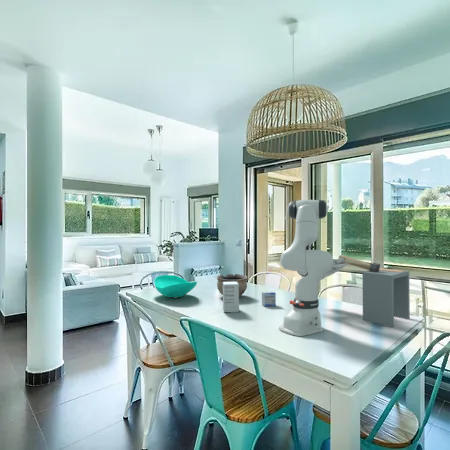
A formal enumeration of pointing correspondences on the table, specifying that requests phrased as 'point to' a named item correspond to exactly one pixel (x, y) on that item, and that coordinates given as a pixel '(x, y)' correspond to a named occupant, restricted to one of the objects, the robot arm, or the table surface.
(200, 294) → the table surface
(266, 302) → the medicine box
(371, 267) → the beech handle
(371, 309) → the shelf stand
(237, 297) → the supplement box
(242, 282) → the ceramic bowl
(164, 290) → the table top decor
